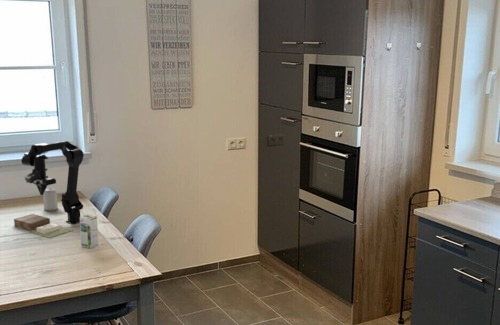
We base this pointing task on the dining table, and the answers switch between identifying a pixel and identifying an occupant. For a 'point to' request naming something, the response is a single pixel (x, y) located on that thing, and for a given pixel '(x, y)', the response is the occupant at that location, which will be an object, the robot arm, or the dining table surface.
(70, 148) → the robot arm
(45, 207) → the can
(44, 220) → the brown flat block
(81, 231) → the syrup box
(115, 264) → the dining table surface
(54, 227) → the cream chamfered block
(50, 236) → the mat
